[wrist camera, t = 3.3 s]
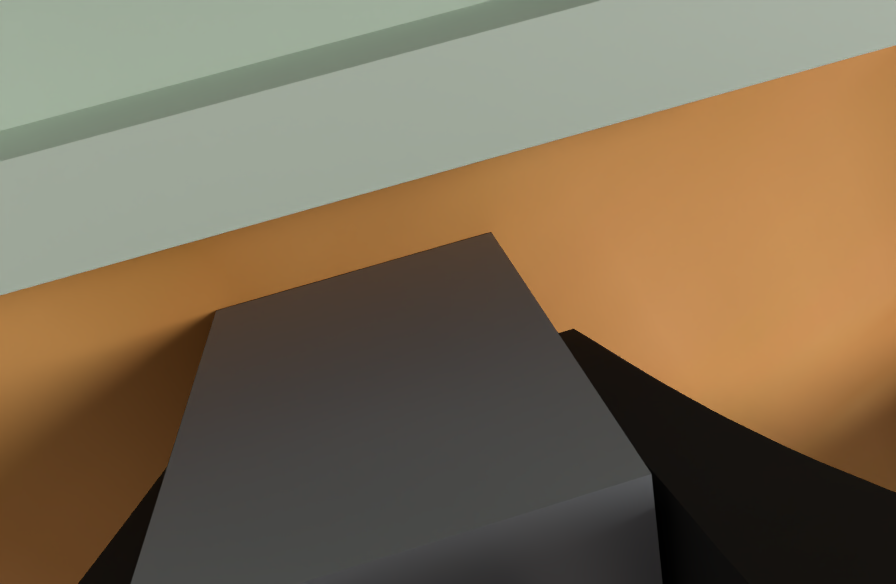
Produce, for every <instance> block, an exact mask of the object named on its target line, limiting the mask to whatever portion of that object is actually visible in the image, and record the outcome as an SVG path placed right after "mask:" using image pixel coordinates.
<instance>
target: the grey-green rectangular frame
mask: <svg viewBox="0 0 896 584" xmlns="http://www.w3.org/2000/svg"><path fill="white" fill-rule="evenodd" d="M894 45H896V0H0V295H3V294H7V293H10V292H14V291H18V290H21V289H25V288H28V287H32V286H35V285H39V284H43V283H46V282H50V281H53V280H57V279H60V278H64V277H68V276H71V275H75V274H78V273H82V272H86V271H89V270H93V269H96V268H100V267H103V266H107V265H111V264H114V263H118V262H121V261H125V260H128V259H132V258H136V257H139V256H143V255H146V254H150V253H154V252H157V251H161V250H164V249H168V248H171V247H175V246H179V245H182V244H186V243H189V242H193V241H197V240H200V239H204V238H207V237H211V236H214V235H218V234H222V233H225V232H229V231H232V230H236V229H239V228H243V227H247V226H250V225H254V224H257V223H261V222H265V221H268V220H272V219H275V218H279V217H282V216H286V215H290V214H293V213H297V212H300V211H304V210H307V209H311V208H315V207H318V206H322V205H325V204H329V203H333V202H336V201H340V200H343V199H347V198H350V197H354V196H358V195H361V194H365V193H368V192H372V191H375V190H379V189H383V188H386V187H390V186H393V185H397V184H401V183H404V182H408V181H411V180H415V179H418V178H422V177H426V176H429V175H433V174H436V173H440V172H443V171H447V170H451V169H454V168H458V167H461V166H465V165H469V164H472V163H476V162H479V161H483V160H486V159H490V158H494V157H497V156H501V155H504V154H508V153H511V152H515V151H519V150H522V149H526V148H529V147H533V146H537V145H540V144H544V143H547V142H551V141H554V140H558V139H562V138H565V137H569V136H572V135H576V134H580V133H583V132H587V131H590V130H594V129H597V128H601V127H605V126H608V125H612V124H615V123H619V122H622V121H626V120H630V119H633V118H637V117H640V116H644V115H648V114H651V113H655V112H658V111H662V110H665V109H669V108H673V107H676V106H680V105H683V104H687V103H690V102H694V101H698V100H701V99H705V98H708V97H712V96H716V95H719V94H723V93H726V92H730V91H733V90H737V89H741V88H744V87H748V86H751V85H755V84H758V83H762V82H766V81H769V80H773V79H776V78H780V77H784V76H787V75H791V74H794V73H798V72H801V71H805V70H809V69H812V68H816V67H819V66H823V65H826V64H830V63H834V62H837V61H841V60H844V59H848V58H852V57H855V56H859V55H862V54H866V53H869V52H873V51H877V50H880V49H884V48H887V47H891V46H894Z"/></svg>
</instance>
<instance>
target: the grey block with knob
mask: <svg viewBox="0 0 896 584" xmlns="http://www.w3.org/2000/svg"><path fill="white" fill-rule="evenodd" d="M131 584H663V582H662V572H661V563H660V553H659V543H658V533H657V523H656V513H655V503H654V494H653V484H652V474H651V472H650V471H649V469H648V468H647V466H646V465H645V463H644V462H643V460H642V459H641V457H640V456H639V454H638V453H637V451H636V450H635V448H634V447H633V445H632V444H631V442H630V441H629V439H628V438H627V436H626V435H625V433H624V432H623V430H622V429H621V427H620V426H619V424H618V423H617V421H616V420H615V418H614V417H613V415H612V414H611V412H610V411H609V409H608V408H607V406H606V405H605V403H604V402H603V400H602V399H601V397H600V396H599V394H598V393H597V391H596V390H595V388H594V387H593V385H592V383H591V382H590V380H589V379H588V377H587V376H586V374H585V373H584V371H583V370H582V368H581V367H580V365H579V364H578V362H577V361H576V359H575V358H574V356H573V355H572V353H571V352H570V350H569V349H568V347H567V346H566V344H565V343H564V341H563V340H562V338H561V337H560V335H559V334H558V332H557V331H556V329H555V328H554V326H553V325H552V323H551V322H550V320H549V319H548V317H547V316H546V314H545V313H544V311H543V310H542V308H541V307H540V305H539V304H538V302H537V301H536V299H535V298H534V296H533V295H532V293H531V292H530V290H529V288H528V287H527V285H526V284H525V282H524V281H523V279H522V278H521V276H520V275H519V273H518V272H517V270H516V269H515V267H514V266H513V264H512V263H511V261H510V260H509V258H508V257H507V255H506V254H505V252H504V251H503V249H502V248H501V246H500V245H499V243H498V242H497V240H496V239H495V237H494V236H493V234H492V233H491V232H490V233H487V234H483V235H480V236H476V237H473V238H469V239H466V240H462V241H459V242H455V243H452V244H448V245H445V246H441V247H438V248H434V249H431V250H427V251H424V252H420V253H417V254H413V255H410V256H406V257H403V258H399V259H396V260H392V261H389V262H385V263H382V264H378V265H375V266H371V267H368V268H364V269H361V270H357V271H354V272H350V273H347V274H343V275H340V276H336V277H333V278H329V279H326V280H322V281H319V282H315V283H312V284H308V285H305V286H301V287H298V288H294V289H291V290H287V291H284V292H280V293H277V294H273V295H270V296H266V297H263V298H259V299H256V300H252V301H249V302H245V303H242V304H238V305H235V306H231V307H228V308H224V309H221V310H217V311H216V313H215V316H214V319H213V322H212V326H211V329H210V332H209V335H208V338H207V342H206V345H205V348H204V351H203V354H202V358H201V361H200V364H199V367H198V370H197V374H196V377H195V380H194V383H193V386H192V390H191V393H190V396H189V399H188V402H187V406H186V409H185V412H184V415H183V418H182V421H181V425H180V428H179V431H178V434H177V437H176V441H175V444H174V447H173V450H172V453H171V457H170V460H169V463H168V466H167V469H166V473H165V476H164V479H163V482H162V485H161V489H160V492H159V495H158V498H157V501H156V505H155V508H154V511H153V514H152V517H151V520H150V524H149V527H148V530H147V533H146V536H145V540H144V543H143V546H142V549H141V552H140V556H139V559H138V562H137V565H136V568H135V572H134V575H133V578H132V581H131Z"/></svg>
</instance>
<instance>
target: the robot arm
mask: <svg viewBox="0 0 896 584" xmlns="http://www.w3.org/2000/svg"><path fill="white" fill-rule="evenodd" d="M558 334H559V335H560V337H561V338H562V340H563V341H564V343H565V344H566V346H567V347H568V349H569V350H570V352H571V353H572V355H573V356H574V358H575V359H576V361H577V362H578V364H579V365H580V367H581V368H582V370H583V371H584V373H585V374H586V376H587V377H588V379H589V380H590V382H591V383H592V385H593V387H594V388H595V390H596V391H597V393H598V394H599V396H600V397H601V399H602V400H603V402H604V403H605V405H606V406H607V408H608V409H609V411H610V412H611V414H612V415H613V417H614V418H615V420H616V421H617V423H618V424H619V426H620V427H621V429H622V430H623V432H624V433H625V435H626V436H627V438H628V439H629V441H630V442H631V444H632V445H633V447H634V448H635V450H636V451H637V453H638V454H639V456H640V457H641V459H642V460H643V462H644V463H645V465H646V466H647V468H648V469H649V471H650V472H651V474H652V484H653V494H654V503H655V513H656V523H657V533H658V543H659V553H660V563H661V572H662V582H663V584H896V493H895V492H893V491H890V490H888V489H885V488H883V487H880V486H878V485H875V484H873V483H871V482H868V481H866V480H863V479H861V478H858V477H856V476H853V475H851V474H848V473H846V472H844V471H841V470H839V469H836V468H834V467H831V466H829V465H826V464H824V463H822V462H819V461H817V460H814V459H812V458H810V457H808V456H805V455H803V454H801V453H799V452H796V451H794V450H792V449H790V448H787V447H785V446H783V445H781V444H779V443H777V442H775V441H773V440H771V439H769V438H767V437H764V436H762V435H760V434H758V433H756V432H754V431H752V430H750V429H748V428H746V427H744V426H742V425H740V424H738V423H736V422H734V421H732V420H730V419H728V418H726V417H724V416H722V415H720V414H718V413H716V412H714V411H712V410H710V409H709V408H707V407H705V406H703V405H701V404H700V403H698V402H696V401H694V400H692V399H691V398H689V397H687V396H685V395H683V394H682V393H680V392H678V391H676V390H675V389H673V388H671V387H669V386H667V385H666V384H664V383H662V382H660V381H659V380H657V379H655V378H654V377H652V376H650V375H649V374H647V373H645V372H644V371H642V370H640V369H639V368H637V367H635V366H634V365H632V364H630V363H629V362H627V361H625V360H624V359H622V358H621V357H619V356H617V355H616V354H614V353H612V352H611V351H609V350H608V349H606V348H604V347H603V346H601V345H600V344H598V343H596V342H595V341H593V340H592V339H590V338H588V337H587V336H585V335H583V334H582V333H580V332H578V331H577V330H575V329H571V330H568V331H564V332H561V333H558ZM166 469H167V468H166ZM166 469H165V470H164V472H163V473H162V474H161V476H160V477H159V478H158V480H157V481H156V482H155V484H154V485H153V486H152V487H151V489H150V490H149V491H148V493H147V494H146V495H145V497H144V498H143V499H142V501H141V502H140V503H139V505H138V506H137V507H136V509H135V510H134V511H133V513H132V514H131V515H130V517H129V518H128V519H127V521H126V522H125V523H124V525H123V526H122V527H121V529H120V530H119V531H118V532H117V534H116V535H115V536H114V538H113V539H112V540H111V542H110V543H109V544H108V546H107V547H106V548H105V549H104V551H103V552H102V553H101V555H100V556H99V557H98V559H97V560H96V561H95V563H94V564H93V565H92V566H91V568H90V569H89V570H88V572H87V573H86V574H85V576H84V577H83V578H82V579H81V581H80V582H79V583H78V584H131V581H132V578H133V575H134V572H135V568H136V565H137V562H138V559H139V556H140V552H141V549H142V546H143V543H144V540H145V536H146V533H147V530H148V527H149V524H150V520H151V517H152V514H153V511H154V508H155V505H156V501H157V498H158V495H159V492H160V489H161V485H162V482H163V479H164V476H165V473H166Z"/></svg>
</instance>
